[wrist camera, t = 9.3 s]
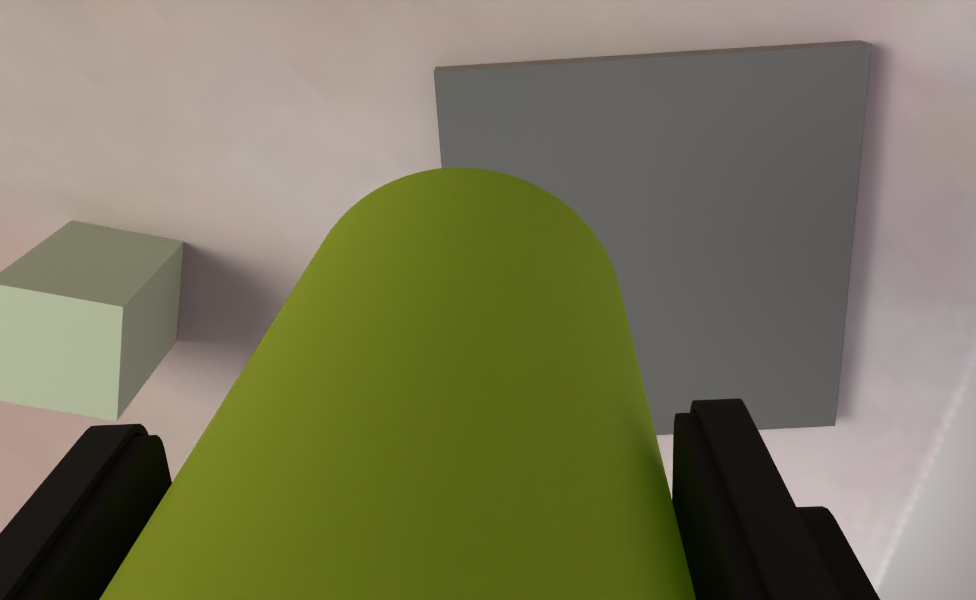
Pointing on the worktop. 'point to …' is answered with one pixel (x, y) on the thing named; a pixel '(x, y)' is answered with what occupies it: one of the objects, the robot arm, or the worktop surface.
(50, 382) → the pale green box
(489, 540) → the lime spray bottle
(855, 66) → the plate
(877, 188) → the worktop surface
